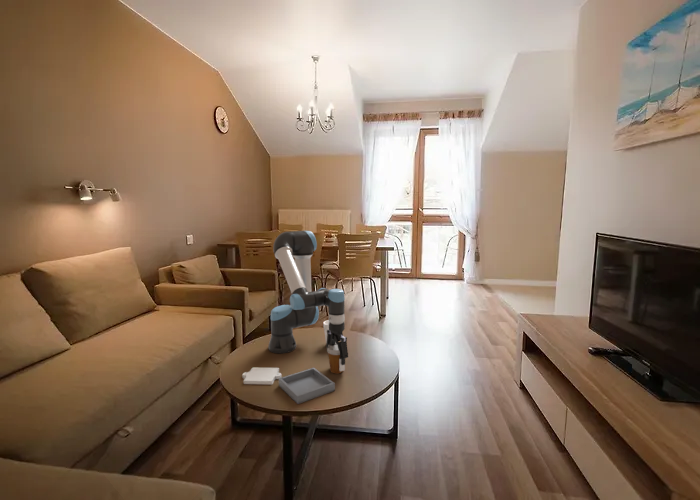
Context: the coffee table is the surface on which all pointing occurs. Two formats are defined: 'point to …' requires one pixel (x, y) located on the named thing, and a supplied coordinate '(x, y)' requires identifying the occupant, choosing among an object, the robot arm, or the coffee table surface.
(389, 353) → the coffee table surface
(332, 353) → the disposable coffee cup
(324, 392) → the slate tray
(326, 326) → the foam cup
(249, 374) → the mounting plate
